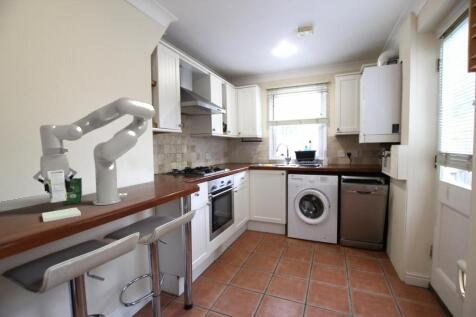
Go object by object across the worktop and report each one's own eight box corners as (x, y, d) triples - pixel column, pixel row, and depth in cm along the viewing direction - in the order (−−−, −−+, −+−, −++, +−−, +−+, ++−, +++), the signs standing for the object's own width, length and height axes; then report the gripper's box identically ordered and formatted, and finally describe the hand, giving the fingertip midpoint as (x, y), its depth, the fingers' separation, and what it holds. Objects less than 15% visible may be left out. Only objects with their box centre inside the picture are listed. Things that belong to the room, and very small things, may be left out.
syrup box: (51, 200, 102) (47, 169, 101) (67, 198, 106) (64, 168, 105) (50, 203, 98) (46, 171, 96) (66, 200, 101) (63, 169, 100)
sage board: (76, 210, 102) (76, 207, 102) (80, 215, 94) (80, 212, 94) (42, 215, 94) (41, 213, 94) (43, 222, 86) (43, 219, 86)
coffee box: (83, 201, 118) (82, 177, 118) (82, 202, 116) (81, 177, 115) (64, 203, 115) (63, 178, 114) (63, 204, 112) (61, 179, 111)
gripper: (75, 150, 108) (79, 186, 110) (27, 153, 96) (32, 193, 98) (78, 151, 103) (82, 188, 105) (27, 153, 91) (32, 196, 93)
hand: (58, 190), depth 101 cm, fingers closed on syrup box, 6 cm apart
